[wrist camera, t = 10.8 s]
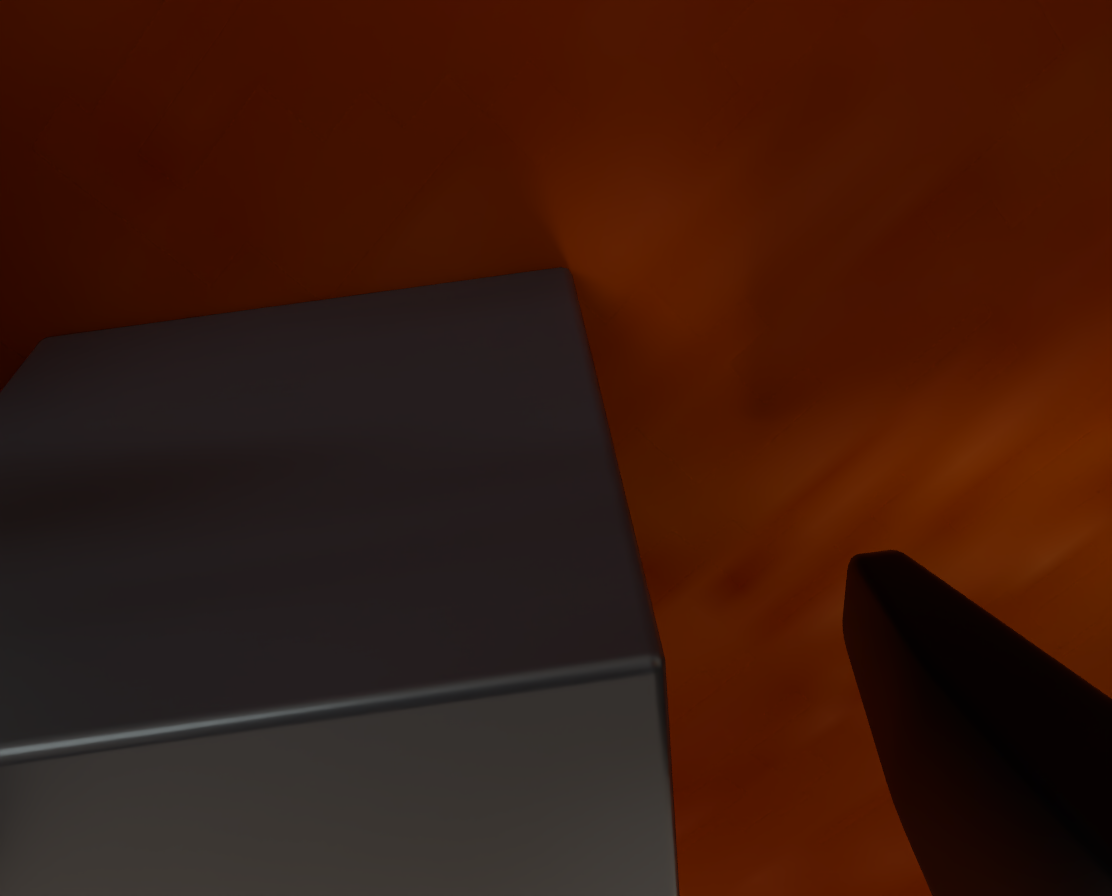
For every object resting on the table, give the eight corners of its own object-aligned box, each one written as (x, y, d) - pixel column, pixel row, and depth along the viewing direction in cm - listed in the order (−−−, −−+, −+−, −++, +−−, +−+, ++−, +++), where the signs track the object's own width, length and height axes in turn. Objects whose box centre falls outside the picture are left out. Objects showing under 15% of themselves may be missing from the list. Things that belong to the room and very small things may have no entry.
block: (610, 636, 12) (693, 1088, 8) (209, 692, 12) (73, 1179, 8) (569, 262, 9) (667, 661, 5) (39, 334, 9) (-329, 800, 5)
